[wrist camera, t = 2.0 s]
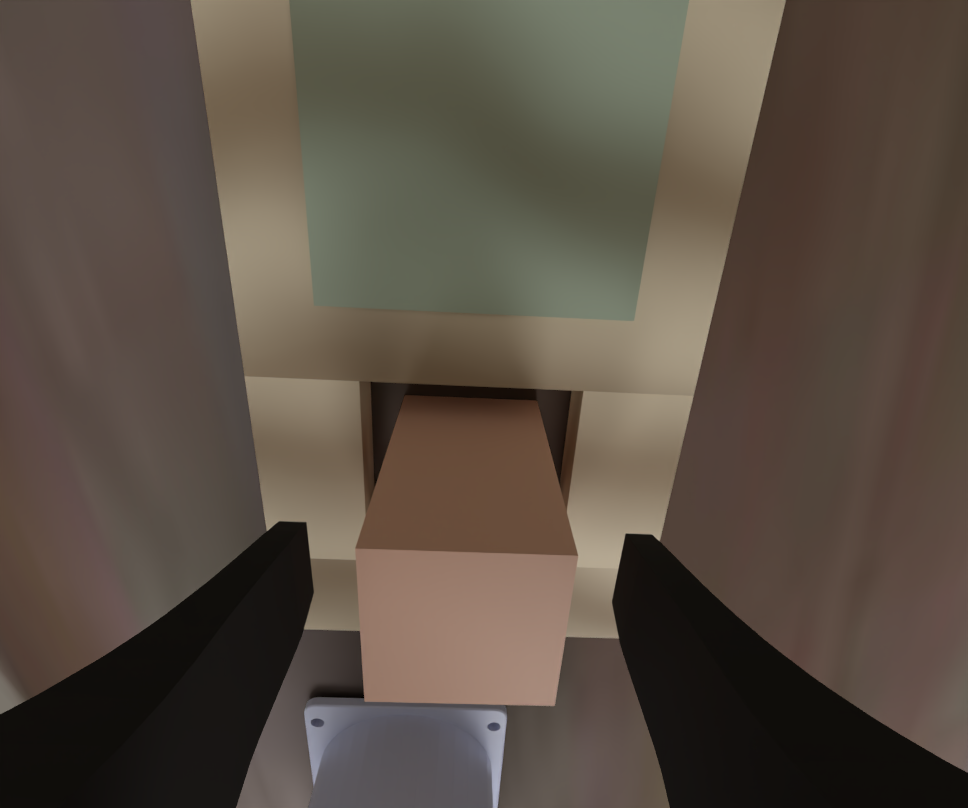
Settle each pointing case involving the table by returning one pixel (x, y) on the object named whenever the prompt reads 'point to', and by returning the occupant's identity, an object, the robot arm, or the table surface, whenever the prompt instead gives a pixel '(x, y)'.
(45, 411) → the table surface
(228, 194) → the board
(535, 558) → the terracotta block
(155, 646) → the robot arm
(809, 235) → the table surface
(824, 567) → the table surface
